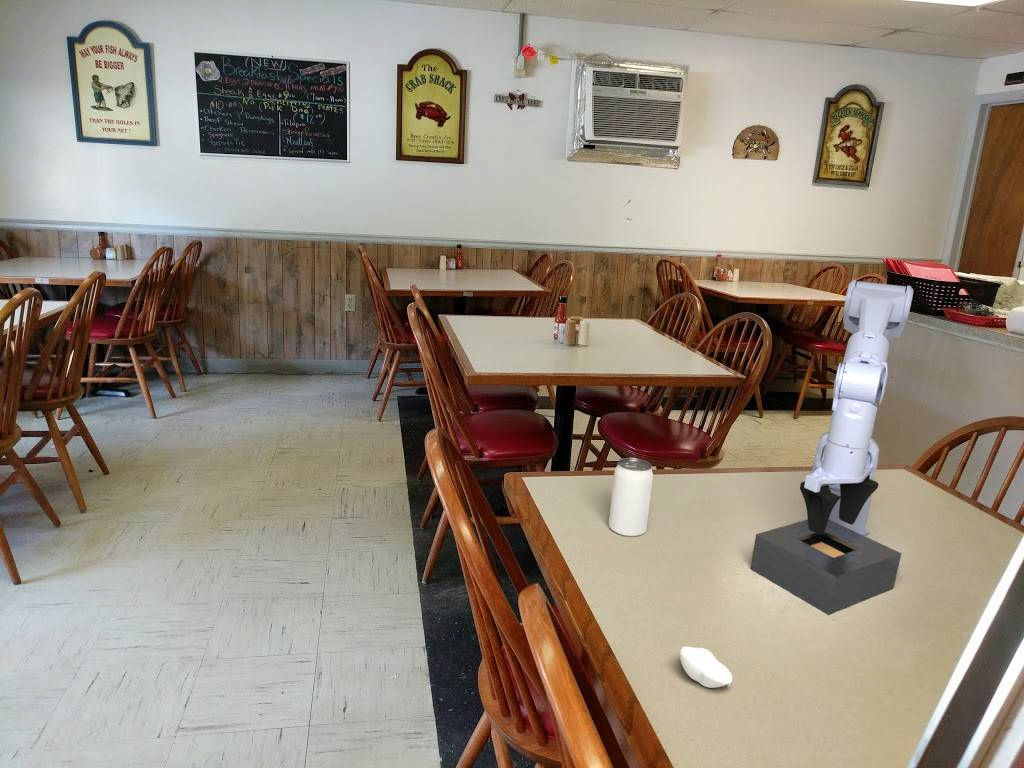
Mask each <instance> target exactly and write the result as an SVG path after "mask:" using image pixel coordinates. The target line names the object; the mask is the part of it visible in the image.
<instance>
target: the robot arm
mask: <svg viewBox="0 0 1024 768" xmlns="http://www.w3.org/2000/svg"><path fill="white" fill-rule="evenodd" d="M913 295H914V289H913V288H912V286H911V285H907V286H906V285H905V286H904V285H897V284H895V285H894V284H886V283H878V282H868V281H861V280H859V281H857V279H852V280H851V281H850V282H849V283H848V286H847V289H846V296H845V300H844V307H843V320H842V323H843V324H844V325H843V329H844V330H846V332H849V333H850V334H851V336H850V337H849V338H848V340H847V343H846V348H845V349H846V350H845V353H844V357H843V361H842V363H841V362H839V364H838V366H837V370H836V375H835V378H834V384H833V396H832V397H833V398H832V399H833V400H832V406H831V411H833V412H831V418H830V421H829V422H830V424H829V428H828V431H825V432H823V433H822V434H821V435H820V436H819V440H818V444H817V447H816V450H815V454H814V458H813V465H812V471H811V473H810V474H807V475H805V480H804V481H801V482H800V485H799V490H800V493H801V494H802V497H803V499H804V504H805V507H806V514H807V519H808V527H809V530H811V531H813V532H815V533H817V534H819V535H821V534H823V533H824V531H825V529H826V526H827V523H828V520H831V521H833V522H835V523H838V524H840V525H842V526H844V527H846V528H848V529H850V530H853V531H855V532H857V533H859V534H861V535H863V536H865V535H869V534H870V533H871V531H870V530H869V529H867V528H866V527H867V522H868V519H869V513H870V507H871V504H872V494H873V493H874V492H875V491H877V490H878V488H879V483H878V482H877V481H876V480H875V477H876V472H877V468H878V462H879V453H880V447H879V444H878V443H877V441H876V440H874V439H873V437H872V435H873V431H874V426H875V421H876V417H877V413H878V408H879V406H881V404H882V402H883V400H884V396H885V392H886V387H887V381H888V378H889V369H888V356H889V351H890V350H889V349H890V343H889V340H890V339H894V338H898V337H901V335H902V332H904V330H905V327H906V322H908V318H909V314H910V309H911V306H912V302H913ZM876 399H878V403H877V402H876Z"/></svg>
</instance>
